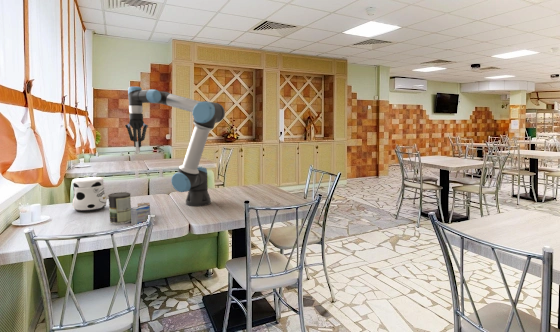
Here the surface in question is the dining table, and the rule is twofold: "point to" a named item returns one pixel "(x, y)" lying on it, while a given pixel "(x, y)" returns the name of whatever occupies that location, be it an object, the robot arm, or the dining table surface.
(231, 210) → the dining table surface
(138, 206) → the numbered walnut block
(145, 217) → the medicine box
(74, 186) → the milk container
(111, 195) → the coffee can
